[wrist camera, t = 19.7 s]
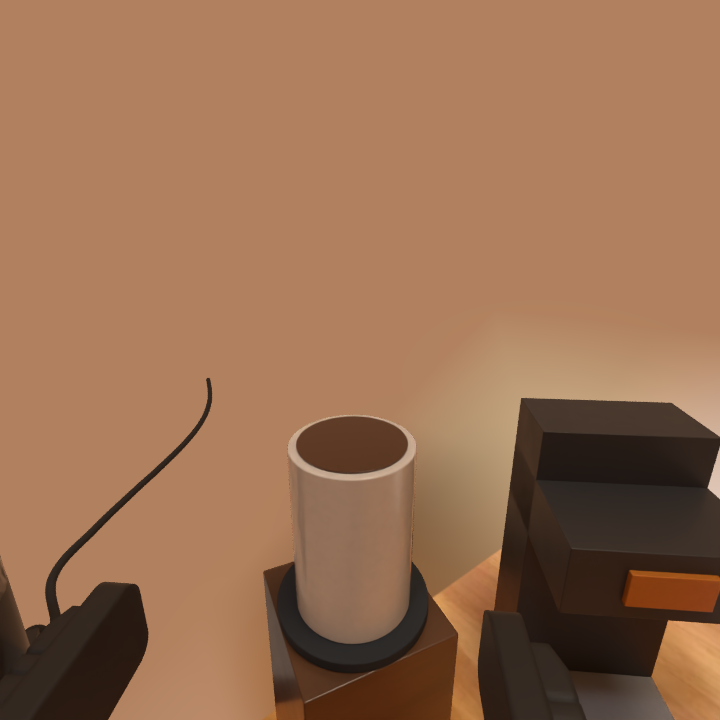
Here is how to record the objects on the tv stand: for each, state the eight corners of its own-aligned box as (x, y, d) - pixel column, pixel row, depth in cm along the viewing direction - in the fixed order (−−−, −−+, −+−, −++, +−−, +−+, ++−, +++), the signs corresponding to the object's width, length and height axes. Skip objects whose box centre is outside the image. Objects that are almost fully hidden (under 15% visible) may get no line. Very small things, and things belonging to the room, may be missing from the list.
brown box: (282, 778, 32) (262, 570, 25) (381, 728, 35) (384, 531, 29) (318, 938, 25) (303, 704, 19) (437, 856, 28) (459, 633, 22)
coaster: (262, 570, 25) (262, 562, 25) (384, 531, 29) (385, 524, 28) (303, 704, 19) (302, 694, 18) (459, 633, 22) (459, 624, 21)
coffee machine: (732, 842, 28) (870, 541, 21) (542, 822, 29) (606, 527, 22) (616, 623, 43) (671, 402, 36) (493, 614, 44) (521, 397, 37)
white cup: (283, 569, 25) (273, 425, 22) (379, 539, 27) (381, 405, 24) (317, 665, 20) (310, 492, 17) (431, 617, 22) (442, 458, 19)
